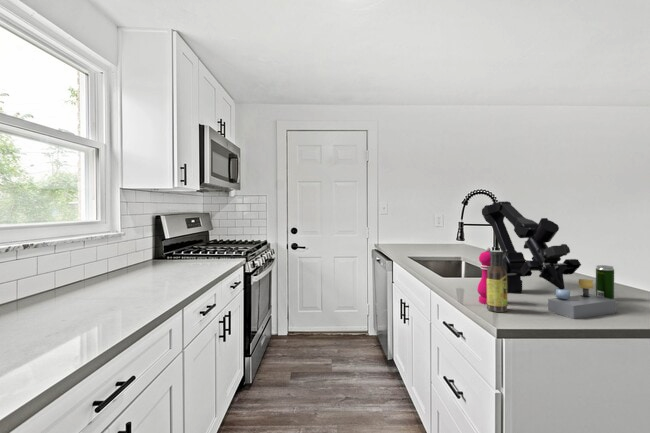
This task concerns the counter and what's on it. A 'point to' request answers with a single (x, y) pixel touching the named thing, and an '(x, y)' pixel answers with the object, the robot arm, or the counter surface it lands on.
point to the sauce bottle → (496, 283)
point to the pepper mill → (484, 275)
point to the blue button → (563, 294)
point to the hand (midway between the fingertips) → (562, 288)
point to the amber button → (586, 286)
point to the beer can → (605, 281)
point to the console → (582, 306)
